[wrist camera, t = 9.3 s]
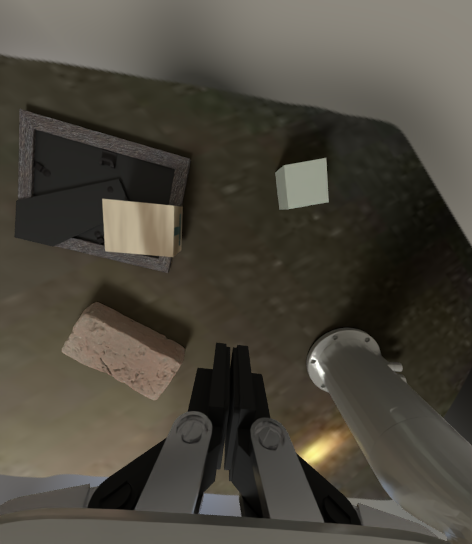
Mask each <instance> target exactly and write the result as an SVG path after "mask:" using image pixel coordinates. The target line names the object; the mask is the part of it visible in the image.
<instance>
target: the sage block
mask: <svg viewBox="0 0 472 544" xmlns="http://www.w3.org/2000/svg"><path fill="white" fill-rule="evenodd" d="M275 175H276V183H277V192H278V201H279V210H280V209H292V208H297V207H303V206H309V205H314V204H320V203H326V202H329V200H328V182H327V164H326V158H323V159H317V160H312V161H306V162H300V163H295V164H289V165H284V166H283V167H281V168H280V169H279V170H278V171H277V172H275Z"/></svg>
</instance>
